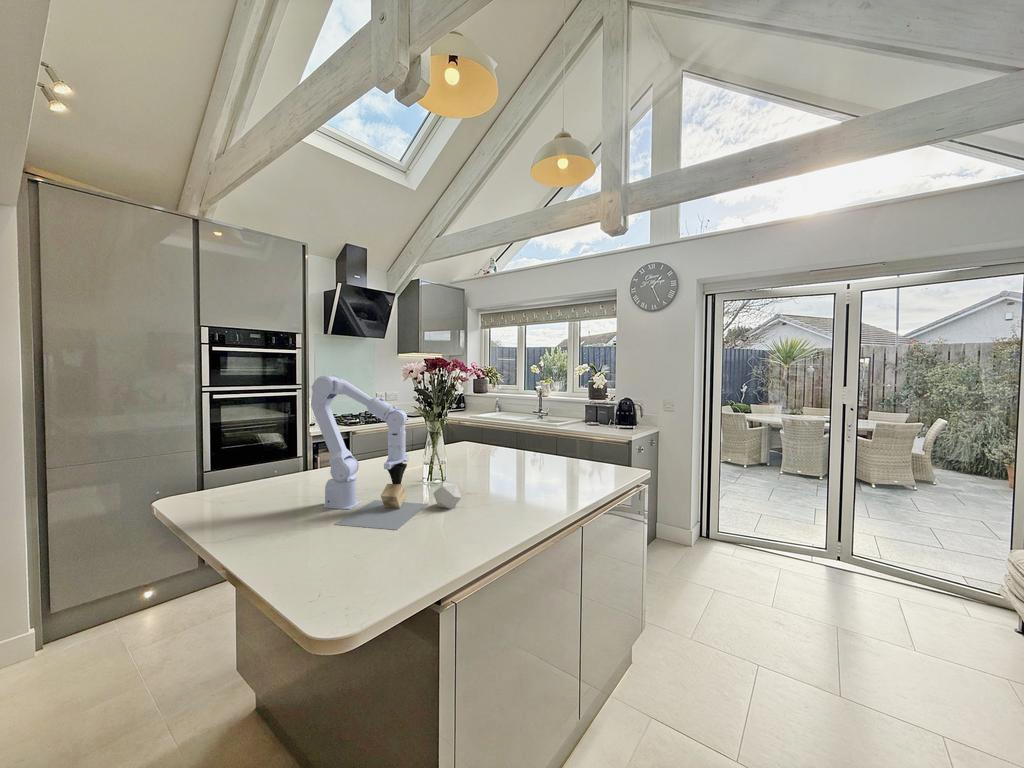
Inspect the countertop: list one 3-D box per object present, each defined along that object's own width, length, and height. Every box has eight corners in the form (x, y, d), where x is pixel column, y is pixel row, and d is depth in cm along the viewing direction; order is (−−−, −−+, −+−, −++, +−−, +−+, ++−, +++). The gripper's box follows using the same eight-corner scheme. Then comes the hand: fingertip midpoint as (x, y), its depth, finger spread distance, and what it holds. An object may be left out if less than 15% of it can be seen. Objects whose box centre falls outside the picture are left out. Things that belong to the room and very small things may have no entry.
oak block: (384, 507, 140) (380, 495, 138) (391, 495, 145) (387, 483, 142) (400, 508, 139) (396, 496, 137) (406, 496, 144) (402, 484, 141)
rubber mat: (333, 525, 125) (333, 524, 125) (374, 500, 148) (374, 500, 148) (397, 530, 121) (397, 529, 121) (428, 504, 145) (428, 503, 145)
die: (465, 507, 144) (457, 481, 149) (460, 501, 137) (452, 474, 141) (442, 516, 144) (435, 490, 148) (436, 511, 136) (428, 483, 140)
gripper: (398, 450, 135) (398, 492, 135) (416, 442, 149) (416, 481, 149) (377, 449, 136) (377, 491, 136) (397, 441, 150) (397, 479, 151)
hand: (396, 485), depth 143 cm, fingers closed
